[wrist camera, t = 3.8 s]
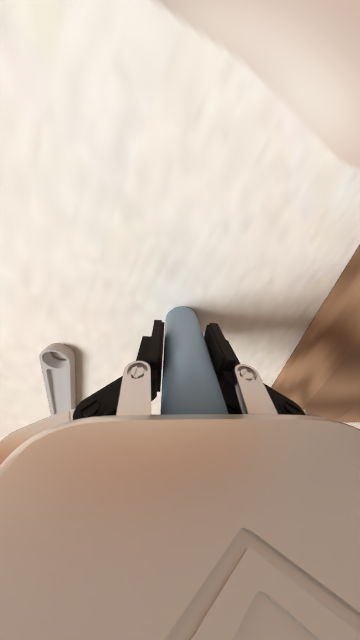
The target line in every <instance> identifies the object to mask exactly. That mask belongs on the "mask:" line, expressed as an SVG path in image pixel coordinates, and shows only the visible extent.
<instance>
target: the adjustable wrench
mask: <svg viewBox="0 0 360 640" xmlns="http://www.w3.org/2000/svg"><path fill="white" fill-rule="evenodd" d="M51 352H57V353H59V354H61V355H63V356H64V357H65V358H66V359H67V360H60V359H57V358H56V357H54V356H53V355H52V353H51ZM40 363H41V368H42V373H43V378H44V382H45V387H46V392H47V397H48V402H49V407H50V412H51V416H52V415H55V414H57V413H59V412H62V411H64V410H67V409H69V410H73V409H75V408H76V375H75V353H74V351H73V350H72V349H71V348H70V347H68V346H66V345H64V344H60V343H54V344H51V345H49V346H48V347H47V348H46V349H45V350H43V351H42V352H41V354H40Z"/></svg>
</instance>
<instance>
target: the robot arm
mask: <svg viewBox="0 0 360 640" xmlns="http://www.w3.org/2000/svg"><path fill="white" fill-rule="evenodd" d="M163 338H164V322H162V320H154V326H153V331H152V337H148V336H143V337H142V341H141V344H140V348H139V352H138V356H137V359H136V361H134V362H131V363H130V364H128V365H127V366H126V367H125V369H124V373H123V376H122V377H120V378H118V379H117V380H115V381H114V382H112V383H110V384H109V385H107V386H105V387H104V388H102V389H100V390H99V391H97V392H96V393H94V394H92V395H91V396H89V397H87V398H86V399H84V400H83V401H82V402H80V403H79V404H78V406H77V407H76V408H75V409H73V410H69V409H67V410H64V411H62V412H59V413H57V414H55V415H52V416H50V417H47V418H45V419H42V420H40V421H38V422H35V423H33V424H30V425H28V426H25V427H23V428H20V429H18V430H16V431H14V432H12V433H11V434H9V435H8V436H6V437H5V438H4V439H3V440H2V441H1V442H0V640H360V429H358V428H355V427H353V426H350V425H348V424H345V423H342V422H339V421H336V420H332V419H328V418H325V417H322V416H320V415H318V414H315V413H313V412H311V411H308V410H306V409H305V410H304V411H303V410H302V408H301V407H300V406H299V405H298V404H297V403H295V402H294V401H292V400H291V399H289V398H287V397H286V396H284V395H282V394H281V393H279V392H277V391H276V390H274V389H272V388H271V387H269V386H267V385H266V384H264V383H263V382H262V379H261V377H260V375H259V374H258V372H257V371H256V370H255V369H254V368H252V367H251V366H248V365H245V364H240V362H239V360H238V359H237V357H236V355H235V353H234V351H233V349H232V347H231V345H230V344H229V342H228V341H227V340H226V339H225V337H224V336H223V334H222V332H221V330H220V328H219V326H218V324H215V323H210V324H209V325H207V327H206V331H205V336H204V339H205V342H206V346H207V349H208V352H209V355H210V358H211V361H212V364H213V367H214V370H215V373H216V377H217V380H218V383H219V386H220V389H221V392H222V395H223V398H224V401H225V405H226V408H227V411H228V414H177V415H151V401H152V400H154V399H155V398H156V397H157V392H160V386H161V371H162V355H163Z"/></svg>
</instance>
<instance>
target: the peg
mask: <svg viewBox="0 0 360 640" xmlns="http://www.w3.org/2000/svg"><path fill="white" fill-rule="evenodd" d="M177 414H228V411H227V408H226V405H225V401H224V398H223V395H222V392H221V389H220V386H219V383H218V380H217V377H216V373H215V370H214V367H213V364H212V361H211V358H210V355H209V352H208V349H207V346H206V342H205V339H204V336H203V333H202V330H201V327H200V324H199V321H198V318H197V315H196V313H195V312H194V311H193V310H192V309H191V308H188V307H184V306H181V307H176V308H174V309H172V310H171V311H170V312H169V313H168V314H167V316H166V323H165V342H164V360H163V379H162V397H161V415H177Z"/></svg>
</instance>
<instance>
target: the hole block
mask: <svg viewBox="0 0 360 640" xmlns="http://www.w3.org/2000/svg"><path fill="white" fill-rule="evenodd" d="M271 388H272V389H274V390H276V391H277V392H279V393H281V394H282V395H284V396H286V397H287V398H289V399H291V400H292V401H294V402H295V403H297V404H298V405H299V406H300V407H301V408H302V410H303V411H304V410H305V409H306V410H308V411H311V412H313V413H315V414H318V415H320V416H322V417H325V418H328V419H332V420H336V421H339V422H360V245H359V247H358V248H357V250H356V252H355V253H354V255H353V256H352V258H351V260H350V261H349V263H348V265H347V266H346V268H345V269H344V271H343V273H342V274H341V276H340V277H339V279H338V281H337V282H336V284H335V286H334V287H333V289H332V290H331V292H330V294H329V295H328V297H327V298H326V300H325V302H324V303H323V305H322V307H321V308H320V310H319V311H318V313H317V315H316V316H315V318H314V319H313V321H312V323H311V324H310V326H309V328H308V329H307V331H306V332H305V334H304V336H303V337H302V339H301V340H300V342H299V344H298V345H297V347H296V349H295V350H294V352H293V353H292V355H291V357H290V358H289V360H288V361H287V363H286V365H285V366H284V368H283V370H282V371H281V373H280V374H279V376H278V378H277V379H276V381H275V382H274V384H273V386H272V387H271Z"/></svg>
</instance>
